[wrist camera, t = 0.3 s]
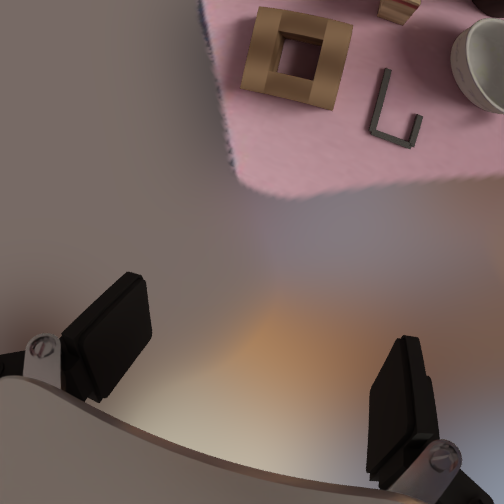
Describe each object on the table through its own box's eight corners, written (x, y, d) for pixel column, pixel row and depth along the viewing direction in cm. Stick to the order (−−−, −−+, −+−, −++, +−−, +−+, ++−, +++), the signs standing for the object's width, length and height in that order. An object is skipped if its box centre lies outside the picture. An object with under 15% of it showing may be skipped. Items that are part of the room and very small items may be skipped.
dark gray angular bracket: (385, 68, 29) (385, 67, 29) (429, 86, 28) (431, 85, 28) (367, 133, 33) (368, 133, 33) (411, 149, 33) (413, 150, 32)
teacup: (427, 40, 26) (448, 26, 19) (492, 24, 21) (521, 11, 14) (471, 146, 30) (499, 158, 23) (531, 125, 25) (564, 134, 18)
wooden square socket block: (268, 16, 30) (259, 6, 26) (351, 34, 28) (353, 25, 24) (251, 90, 35) (239, 88, 31) (332, 110, 33) (332, 110, 29)
